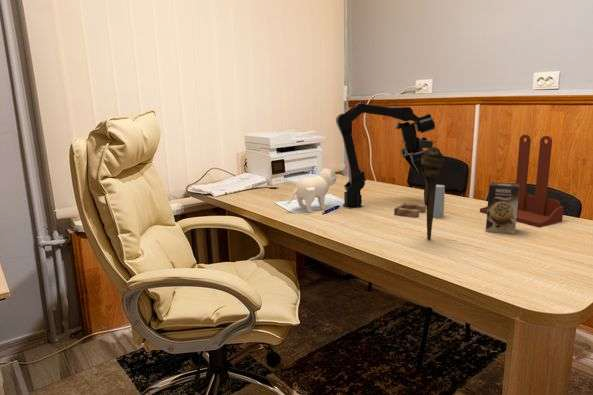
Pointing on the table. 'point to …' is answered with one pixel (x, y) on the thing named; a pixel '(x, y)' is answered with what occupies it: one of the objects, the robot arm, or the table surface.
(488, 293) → the table surface
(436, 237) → the table surface
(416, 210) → the slot block
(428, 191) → the decorative torch
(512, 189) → the coffee box
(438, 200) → the peg
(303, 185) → the cat figurine
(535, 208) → the hanging shelf
